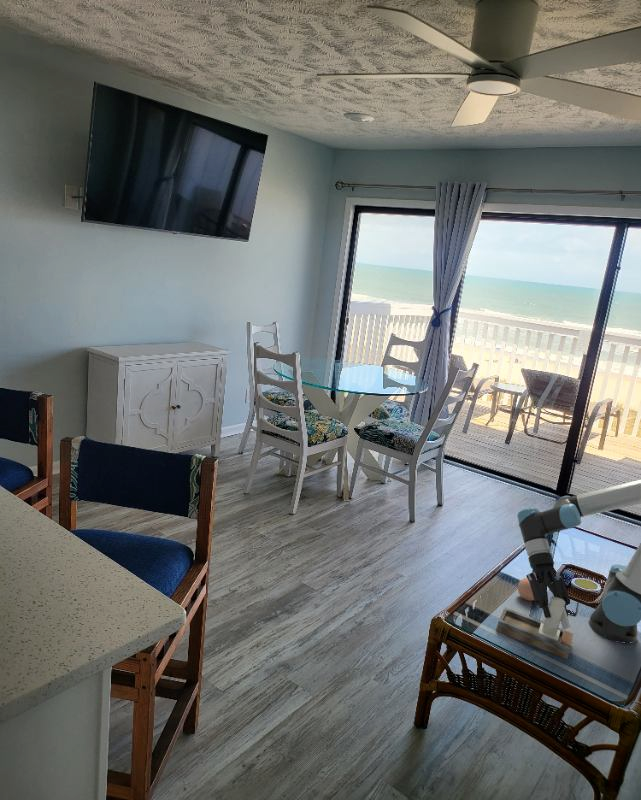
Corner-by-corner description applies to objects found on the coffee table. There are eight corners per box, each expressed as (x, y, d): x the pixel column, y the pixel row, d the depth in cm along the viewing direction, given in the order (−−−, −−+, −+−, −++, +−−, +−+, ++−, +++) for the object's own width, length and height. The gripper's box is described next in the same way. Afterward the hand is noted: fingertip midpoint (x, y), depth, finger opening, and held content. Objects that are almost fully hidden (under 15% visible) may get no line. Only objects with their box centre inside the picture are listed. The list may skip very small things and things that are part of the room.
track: (570, 643, 197) (573, 632, 197) (567, 659, 188) (570, 647, 187) (502, 616, 207) (505, 605, 206) (496, 630, 197) (499, 619, 196)
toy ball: (542, 604, 220) (547, 584, 219) (524, 604, 218) (529, 584, 216) (528, 593, 228) (533, 573, 226) (511, 593, 225) (516, 573, 224)
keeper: (559, 634, 197) (569, 599, 194) (556, 644, 191) (567, 608, 188) (539, 627, 199) (549, 592, 197) (537, 636, 193) (546, 601, 191)
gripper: (553, 558, 208) (574, 630, 196) (510, 557, 203) (529, 631, 191) (568, 551, 203) (590, 625, 190) (524, 550, 197) (544, 626, 185)
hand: (560, 628), depth 191 cm, fingers closed on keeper, 4 cm apart
